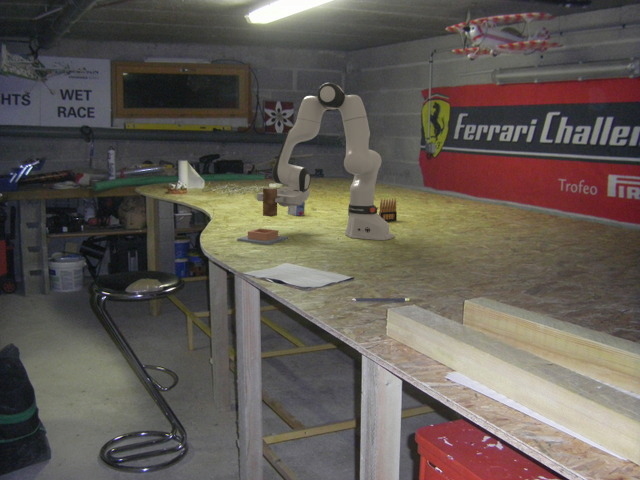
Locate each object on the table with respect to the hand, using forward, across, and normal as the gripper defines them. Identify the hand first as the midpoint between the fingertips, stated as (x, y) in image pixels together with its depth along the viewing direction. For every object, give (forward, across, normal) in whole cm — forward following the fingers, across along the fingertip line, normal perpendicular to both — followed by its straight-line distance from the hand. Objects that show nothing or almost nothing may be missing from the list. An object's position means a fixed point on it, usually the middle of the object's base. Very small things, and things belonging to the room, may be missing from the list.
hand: (269, 199), depth 274 cm
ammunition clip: (-76, +25, +17) cm, 82 cm away
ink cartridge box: (-66, -25, +17) cm, 73 cm away
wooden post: (-1, 0, +7) cm, 7 cm away
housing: (+5, 0, +17) cm, 18 cm away
